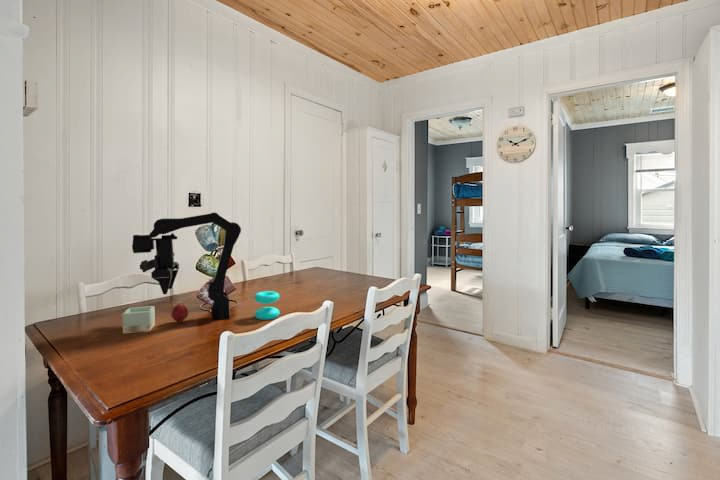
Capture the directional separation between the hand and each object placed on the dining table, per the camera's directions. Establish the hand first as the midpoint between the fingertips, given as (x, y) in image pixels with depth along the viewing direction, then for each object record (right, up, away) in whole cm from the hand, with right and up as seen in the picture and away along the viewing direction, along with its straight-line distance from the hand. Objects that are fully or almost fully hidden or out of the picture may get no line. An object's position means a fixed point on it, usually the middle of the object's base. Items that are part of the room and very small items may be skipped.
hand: (167, 291), depth 144 cm
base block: (-7, -13, -6) cm, 16 cm away
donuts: (+36, -12, +10) cm, 39 cm away
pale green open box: (-7, -10, -6) cm, 14 cm away
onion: (+4, -13, +1) cm, 13 cm away
